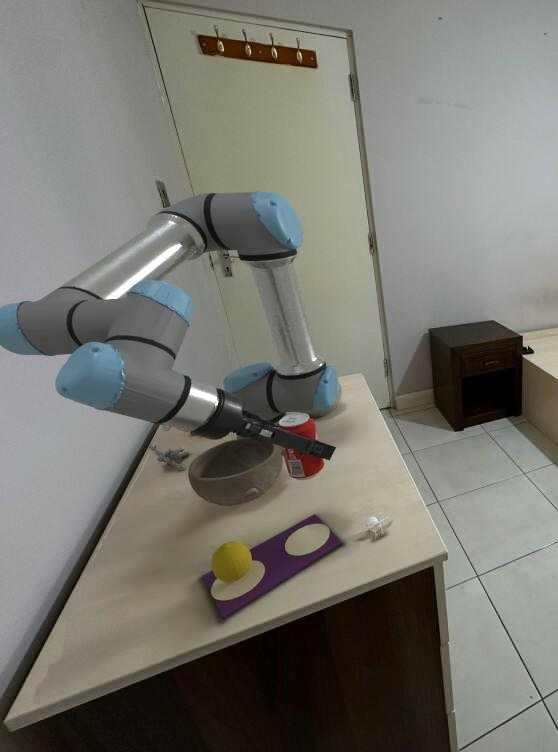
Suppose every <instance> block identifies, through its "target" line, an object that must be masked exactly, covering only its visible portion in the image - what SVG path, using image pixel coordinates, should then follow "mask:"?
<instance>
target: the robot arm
mask: <svg viewBox="0 0 558 752" xmlns="http://www.w3.org/2000/svg"><path fill="white" fill-rule="evenodd" d="M303 241H304V236H303V228H302V224H301V221H300V219H299V216H298V213H297V212H296V210H295V208H294V207H293V205H292V204H291V203H290V201H288V199H287V198H286V197H284V196H283V195H281V194H279V193H277V192H268V191H267V192H266V191H246V192H245V191H244V192H219V193H217V192H216V193H215V192H205V193H200V194H195V195H192V196H190V197H187V198H184V199H182V200H180V201H177V202H175V203H173V204H172V205H169V206H168V207H165V208H164V209H162V210H160V211H159V212H158V213H156V214H154V215H153V216H151V217H150V218H149V219H148V220H147V224H146V229H144V230H142V231H141V232H139V233H138V234H136V235H135V236H134V237H132V238H130V239H129V240H128V241H126V242H124V243H123V244H122V245H120V246H119V247H117V248H116V249H114V250H113V251H111V252H110V253H108V254H107V255H105V256H104V257H102V258H101V259H99V260H97V261H96V262H95V263H93V264H92V265H90V266H89V267H87V268H86V269H84V270H83V271H81V272H79V273H78V274H77V275H75V276H74V277H72V278H71V279H69V280H68V281H67V282H65V283H64V284H62V285H60V286H59V287H57V288H56V289H54V290H53V291H51V292H50V293H48V294H46V295H44V297H42V298H40V299H38V300H35V301H31V300H21V301H19V302H13V303H8V304H4V305H2V306H0V346H1V347H2V348H3V349H5V350H6V351H8V352H10V353H12V354H16V355H20V356H46V357H55V356H64V355H70V356H68V357H67V361H66V362H65V363H64V364H63V365H62V366H61V368H60V369H59V371H58V373H57V376H56V378H55V383H54V386H55V390H56V392H57V393H58V395H60V396H61V397H63V398H65V399H68V400H70V401H73V402H75V403H79V404H81V405H85V406H88V407H90V408H93V409H96V410H99V411H105V412H110V413H113V414H118V415H121V416H125V417H129V418H133V419H137V420H141V421H145V422H149V423H150V424H156V425H158V426H159V425H160V426H161V430H162V431H163V432H169V431H170V430H171V429H172V428H173V429H174V430H178V431H181V432H185V433H190V434H192V435H193V434H194V435H195V436H198V437H200V438H201V437H202V438H205V439H209V440H212V441H216V440H221V439H223V438H226V437H227V436H228V435H229V434H230V433H233V434H235V435H236V438H235V440H236V439H240V438H252V439H255V440H259V441H262V442H265V441H266V442H269V443H273V444H276V445H278V447H279V449H280V451H281V454H282V455H283V452H282V448H281V446H282V447H285V448H289V449H292V450H295V451H298V452H300V453H299V454H298V455H300V456H302V457H303V455H304V454H310V455H313V456H316V457H320V458H323V460H327V461H331V459H332V457H333V455H334V453H335V451H336V449H337V447H336V446H334V445H331V444H329V443H325V442H323V441H320V440H319V441H317V440H314V439H311V438H309V437H307V438H305V437H303V436H300V435H297V434H294V433H292V432H289V431H286V430H283V429H281V428H278V426H279V421H280V420H281V419H282V418H284V417H285V416H288V415H287V413H299V412H301V411H317V410H325V409H328V408H330V407H331V406H332V405H333V403H334V401H335V399H336V396H337V390H338V381H339V377H338V371H337V369H336V368H335V366H332V365H328V366H327V363H326V360H325V357H324V356H323V355H321V354H319V353H317V349H316V346H315V342H314V338H313V335H312V331H311V327H310V324H309V323H310V322H309V319H308V315H307V313H306V308H305V303H304V300H303V297H302V292H301V289H300V286H299V281H298V278H297V274H296V270H295V267H294V261H295V259H296V258H297V257H298V254H299V253H298V250H297V249H299V248H300V247H301V246H303V243H304V242H303ZM218 251H236V252H237V255H238V258H239V261H240V262H241V263H243V264H245V265H246V266H248V267H249V268H250V270H251V275H252V277H253V281H254V283H255V287H256V289H257V293H258V296H259V298H260V302H261V306H262V308H263V312H264V315H265V318H266V321H267V324H268V325H267V326H268V328H269V331H270V334H271V337H272V340H273V344H274V347H275V351H276V353H277V357H278V359H279V362H278V363H277V364H276V366H274V364H273V363H272V362H268V361H263V362H257V363H256V362H255V363H252V364H249V365H245V366H242V367H240V368H237V369H235V370H232V371H231V372H229V373H228V374H227V375H225V377H224V378H223V381H222V384H223V388H224V389H222V388H218V387H215V385H212V384H210V383H207V382H205V381H203V380H199V379H197V378H195V377H192V376H189V375H185V374H183V373H181V372H178V371H176V370H174V369H173V367H174V365H175V361H176V359H177V357H178V354H179V352H180V349H181V347H182V344H183V341H184V339H185V337H186V334H187V332H188V330H189V328H190V326H191V322H190V321H191V318H192V315H193V311H194V308H195V304H194V300H193V299H192V298H191V296H190V295H189V294H187V293H186V292H185V290H183V289H182V288H180V287H178V286H176V285H173V284H171V283H168V282H164V280H165V279H167V277H169V276H170V275H171V274H172V273H174V272H175V271H176V270H177V269H178V268H179V267H181V265H183V264H184V263H185V262H186V261H193V260H196V259H198V258H200V257H201V256H202V255H203V254H206V253H210V252H218ZM194 435H193V436H194Z"/></svg>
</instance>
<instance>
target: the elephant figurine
mask: <svg viewBox="0 0 558 752" xmlns="http://www.w3.org/2000/svg"><path fill="white" fill-rule="evenodd" d="M148 449H149V450H150V451H153V452H154V454H155V455H156V456H158V457H157V458H156V461H158V462H160V463H162V462H163V463H164V464H167V465H169V464H170V465H172V466H174V467H176V469H177V470H180V471H183V470H184V466H183V465H184V464H183V463H181V464H179V463H178V462H176V461H177V460H178V459H180V458H182V457H187V456H189V455H190V453H191V451H190V450H186V451H185V447H184V446H182V447H179V448H177V449H171V448H170V447H168V448H167V450H166V451H164V452H162V451H160V450H159V449H158V448H157V445H156V444H154V445H152V444H149V445H148Z"/></svg>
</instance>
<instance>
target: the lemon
mask: <svg viewBox="0 0 558 752" xmlns="http://www.w3.org/2000/svg"><path fill="white" fill-rule="evenodd" d="M249 550H250V549H249V548H248V547H247V546H246V544H245V543H243V542H241V541H238V540H233V541H232V540H231V541H227V542H225V543H223V544H221V545H220V546H218V547H217V549H216V550H215V551H214V552H213V555H212V558H211V571H212V570H213V573H214V575H215V576H216V577H217V578H218V579H219V580H220V581H223V582H234V581H237V580H239V579H241V578H242V577H244V576H245V575H246V573H247V572H248V571H249V569H250V567H251V563H252V557H251V553H250V551H249Z"/></svg>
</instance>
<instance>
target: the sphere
mask: <svg viewBox="0 0 558 752" xmlns="http://www.w3.org/2000/svg"><path fill="white" fill-rule="evenodd" d="M342 389H343V388H342V385H341V383H340V381H339V380H338V390H337V396H336V399H335V401H334V403H333V405H332V406H331V407H330V408H328V409H325V410H317V411H301V412H298V413H306V414H308V415H309V417H310V418H320V417H324V416H326V415H329V414H330V413H331V412H334V410H336V408H337V407H338V405H339V404H340V402H341V400H342V397H343V390H342Z"/></svg>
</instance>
